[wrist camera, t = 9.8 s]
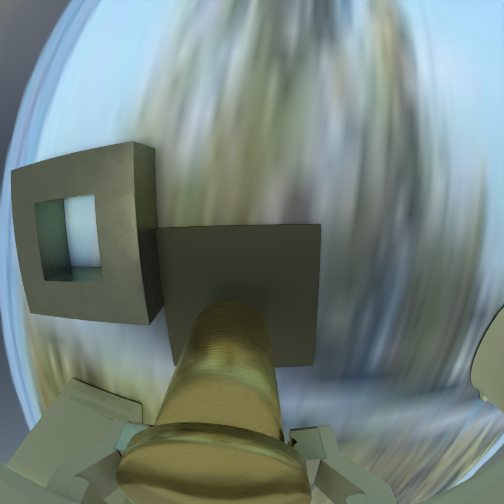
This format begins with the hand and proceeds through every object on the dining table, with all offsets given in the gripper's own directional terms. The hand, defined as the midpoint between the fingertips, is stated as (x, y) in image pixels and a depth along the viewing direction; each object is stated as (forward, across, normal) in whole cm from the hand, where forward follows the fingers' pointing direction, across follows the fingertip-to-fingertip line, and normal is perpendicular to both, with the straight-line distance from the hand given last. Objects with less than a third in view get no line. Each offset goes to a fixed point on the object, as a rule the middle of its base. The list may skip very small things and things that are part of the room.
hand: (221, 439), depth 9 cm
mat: (+13, 0, 0) cm, 13 cm away
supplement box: (+14, +16, +15) cm, 26 cm away
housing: (+14, +12, -6) cm, 19 cm away
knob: (+8, 0, 0) cm, 8 cm away
